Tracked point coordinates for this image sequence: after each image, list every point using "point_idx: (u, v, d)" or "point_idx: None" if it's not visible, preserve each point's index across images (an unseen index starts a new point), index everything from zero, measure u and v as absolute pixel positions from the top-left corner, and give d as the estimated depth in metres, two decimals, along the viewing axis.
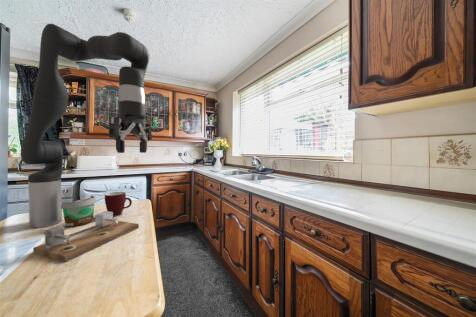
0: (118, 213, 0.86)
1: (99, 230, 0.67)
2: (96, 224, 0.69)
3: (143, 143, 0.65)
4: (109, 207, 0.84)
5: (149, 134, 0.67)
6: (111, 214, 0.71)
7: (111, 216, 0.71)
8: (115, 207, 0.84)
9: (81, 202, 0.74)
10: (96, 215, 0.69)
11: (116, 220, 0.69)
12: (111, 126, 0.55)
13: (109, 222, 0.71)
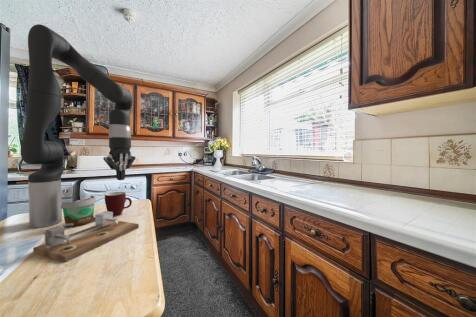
0: (118, 213, 0.86)
1: (99, 230, 0.67)
2: (96, 224, 0.69)
3: None
4: (109, 207, 0.84)
5: (129, 163, 0.79)
6: (111, 214, 0.71)
7: (111, 216, 0.71)
8: (115, 207, 0.84)
9: (81, 202, 0.74)
10: (96, 215, 0.69)
11: (116, 220, 0.69)
12: (109, 164, 0.72)
13: (109, 222, 0.71)
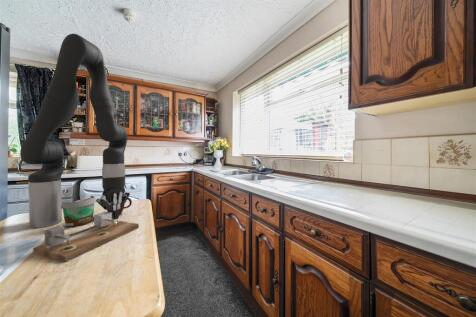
0: None
1: (99, 230, 0.67)
2: (95, 224, 0.69)
3: None
4: None
5: (123, 201, 0.77)
6: (110, 214, 0.71)
7: (110, 216, 0.71)
8: None
9: (81, 202, 0.74)
10: (95, 215, 0.69)
11: (115, 220, 0.68)
12: (102, 205, 0.70)
13: (108, 222, 0.70)
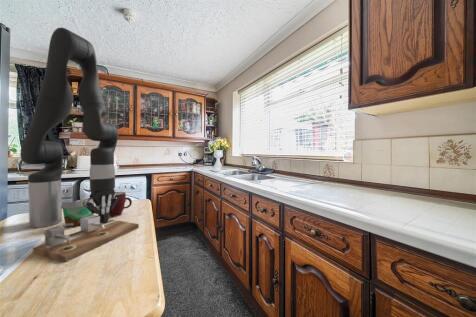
0: (118, 213, 0.86)
1: (99, 230, 0.67)
2: (81, 229, 0.64)
3: None
4: None
5: (113, 204, 0.73)
6: (98, 218, 0.67)
7: (98, 221, 0.67)
8: (115, 207, 0.84)
9: (81, 202, 0.74)
10: (81, 220, 0.64)
11: (103, 225, 0.64)
12: (89, 209, 0.66)
13: (95, 227, 0.66)
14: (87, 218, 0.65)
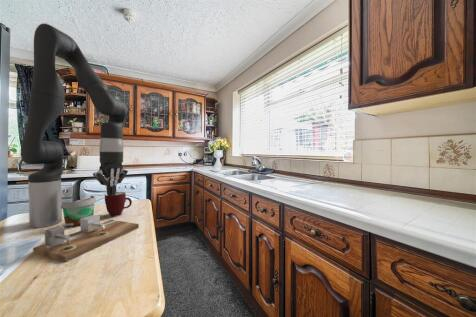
0: (118, 213, 0.86)
1: (99, 230, 0.67)
2: (81, 229, 0.64)
3: None
4: (109, 207, 0.84)
5: (121, 178, 0.76)
6: (98, 218, 0.67)
7: (98, 221, 0.67)
8: (115, 207, 0.84)
9: (81, 202, 0.74)
10: (81, 220, 0.64)
11: (102, 225, 0.64)
12: (99, 180, 0.69)
13: (95, 227, 0.66)
14: (87, 218, 0.65)
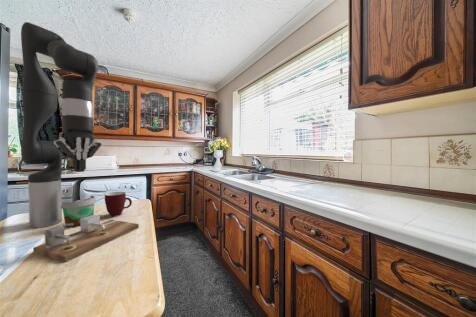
0: (118, 213, 0.86)
1: (99, 230, 0.67)
2: (81, 229, 0.64)
3: None
4: (109, 207, 0.84)
5: (92, 151, 0.62)
6: (98, 218, 0.67)
7: (98, 221, 0.67)
8: (115, 207, 0.84)
9: (81, 202, 0.74)
10: (81, 220, 0.64)
11: (102, 225, 0.64)
12: (60, 150, 0.55)
13: (95, 227, 0.66)
14: (87, 218, 0.65)
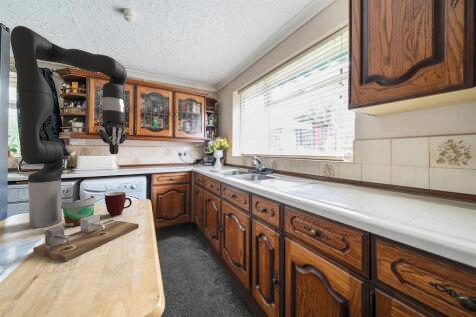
0: (118, 213, 0.86)
1: (99, 230, 0.67)
2: (81, 229, 0.64)
3: None
4: (109, 207, 0.84)
5: (123, 139, 0.79)
6: (98, 218, 0.67)
7: (98, 221, 0.67)
8: (115, 207, 0.84)
9: (81, 202, 0.74)
10: (81, 220, 0.64)
11: (102, 225, 0.64)
12: (101, 136, 0.72)
13: (95, 227, 0.66)
14: (87, 218, 0.65)
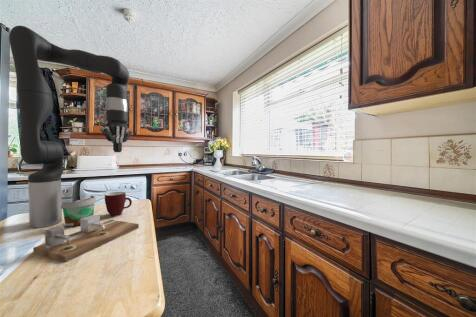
0: (118, 213, 0.86)
1: (99, 230, 0.67)
2: (81, 229, 0.64)
3: None
4: (109, 207, 0.84)
5: (126, 137, 0.82)
6: (98, 218, 0.67)
7: (98, 221, 0.67)
8: (115, 207, 0.84)
9: (81, 202, 0.74)
10: (81, 220, 0.64)
11: (102, 225, 0.64)
12: (106, 135, 0.75)
13: (95, 227, 0.66)
14: (87, 218, 0.65)
